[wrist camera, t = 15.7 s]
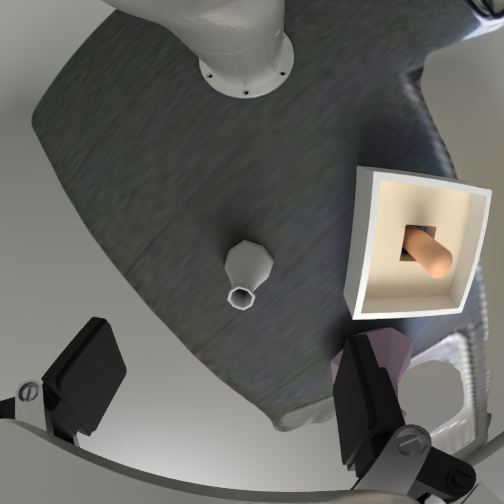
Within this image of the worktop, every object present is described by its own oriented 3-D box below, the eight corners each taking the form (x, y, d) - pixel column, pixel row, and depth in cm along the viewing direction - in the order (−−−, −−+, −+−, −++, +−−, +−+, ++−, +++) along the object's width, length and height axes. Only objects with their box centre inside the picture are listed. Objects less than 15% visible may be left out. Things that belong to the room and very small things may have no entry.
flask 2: (315, 374, 50) (323, 462, 31) (340, 307, 44) (368, 404, 25) (386, 377, 49) (410, 453, 31) (420, 315, 43) (466, 394, 25)
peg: (401, 223, 37) (432, 248, 28) (422, 225, 37) (455, 249, 28) (397, 248, 39) (425, 278, 30) (418, 249, 38) (448, 277, 29)
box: (357, 165, 35) (373, 171, 28) (466, 181, 33) (491, 190, 27) (343, 294, 42) (352, 319, 36) (443, 291, 41) (461, 312, 34)
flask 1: (242, 230, 40) (232, 259, 31) (283, 259, 41) (284, 293, 32) (216, 267, 43) (200, 302, 33) (254, 292, 44) (248, 332, 34)
